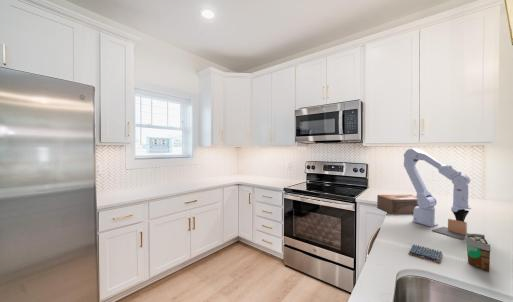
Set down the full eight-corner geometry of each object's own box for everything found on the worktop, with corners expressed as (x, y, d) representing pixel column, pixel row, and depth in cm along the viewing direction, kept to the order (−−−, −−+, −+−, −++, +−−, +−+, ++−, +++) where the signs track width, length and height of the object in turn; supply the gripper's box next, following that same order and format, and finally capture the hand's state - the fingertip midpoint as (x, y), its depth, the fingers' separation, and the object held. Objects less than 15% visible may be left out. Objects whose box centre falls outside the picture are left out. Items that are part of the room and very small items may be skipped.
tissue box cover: (391, 214, 143) (391, 199, 143) (377, 208, 158) (377, 194, 157) (427, 213, 146) (427, 199, 146) (409, 208, 160) (410, 194, 160)
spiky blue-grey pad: (443, 255, 89) (443, 250, 89) (440, 265, 81) (441, 260, 81) (412, 247, 96) (412, 242, 96) (407, 255, 88) (407, 250, 88)
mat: (432, 231, 114) (432, 230, 114) (443, 227, 120) (443, 226, 120) (461, 239, 104) (461, 238, 104) (472, 235, 109) (472, 234, 109)
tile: (447, 230, 114) (448, 218, 114) (449, 229, 115) (449, 218, 115) (465, 235, 108) (465, 223, 108) (466, 234, 109) (467, 222, 109)
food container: (462, 255, 89) (462, 230, 88) (483, 260, 85) (484, 234, 85) (465, 267, 79) (466, 240, 79) (490, 274, 75) (490, 245, 75)
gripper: (464, 200, 106) (463, 228, 106) (477, 198, 113) (476, 223, 113) (446, 197, 113) (445, 223, 113) (459, 195, 119) (459, 219, 119)
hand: (459, 223), depth 113 cm, fingers closed
